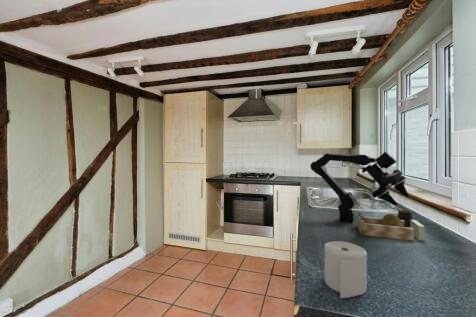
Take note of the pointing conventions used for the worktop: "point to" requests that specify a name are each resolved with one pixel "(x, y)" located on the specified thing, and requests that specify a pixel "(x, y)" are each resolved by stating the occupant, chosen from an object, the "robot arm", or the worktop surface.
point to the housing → (383, 228)
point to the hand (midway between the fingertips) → (402, 200)
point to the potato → (391, 220)
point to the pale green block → (418, 229)
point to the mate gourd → (405, 217)
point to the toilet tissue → (346, 268)
